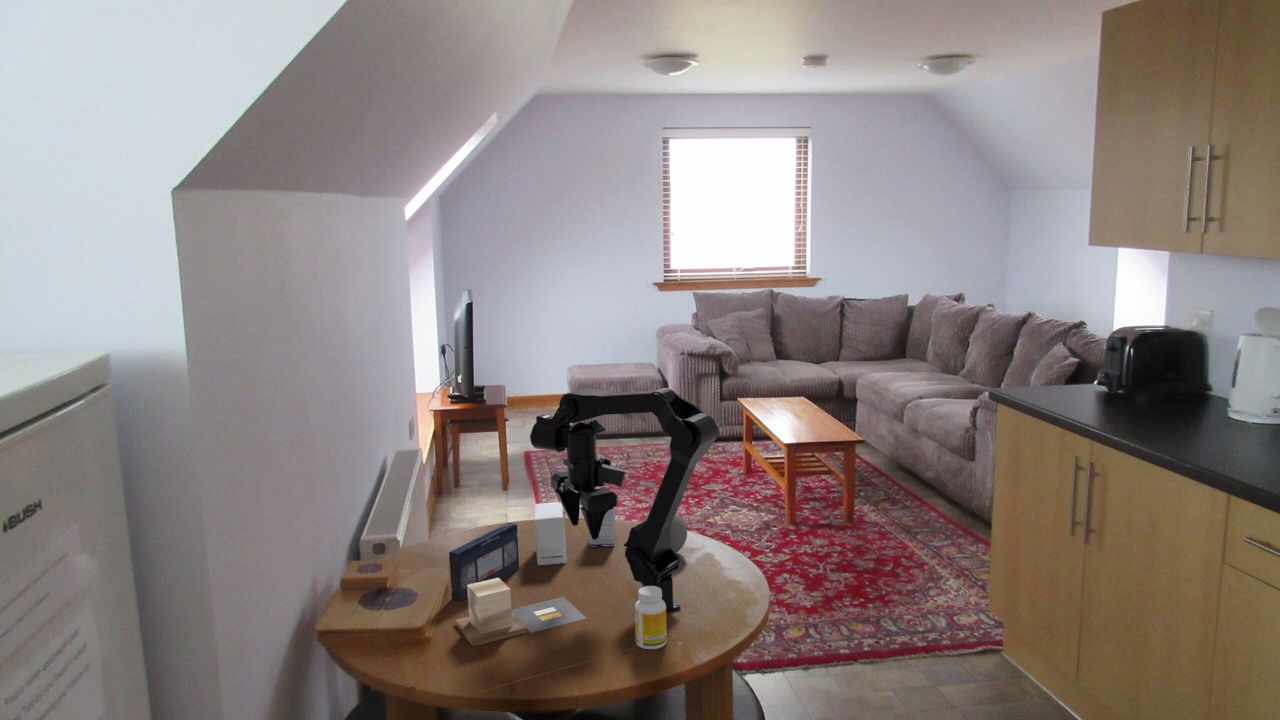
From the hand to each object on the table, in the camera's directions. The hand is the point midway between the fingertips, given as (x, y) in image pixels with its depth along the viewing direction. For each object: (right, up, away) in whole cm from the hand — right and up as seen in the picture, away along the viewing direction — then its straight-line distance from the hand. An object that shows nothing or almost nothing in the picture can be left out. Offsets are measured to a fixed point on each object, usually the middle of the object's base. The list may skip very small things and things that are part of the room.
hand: (585, 531), depth 177 cm
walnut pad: (-16, -15, -13) cm, 26 cm away
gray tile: (-6, -14, -8) cm, 17 cm away
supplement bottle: (+13, -15, -21) cm, 29 cm away
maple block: (-16, -14, -14) cm, 25 cm away
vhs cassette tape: (-20, -12, +7) cm, 25 cm away
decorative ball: (+16, -9, +19) cm, 26 cm away
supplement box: (+2, -8, +28) cm, 29 cm away
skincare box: (-9, -9, +21) cm, 24 cm away
